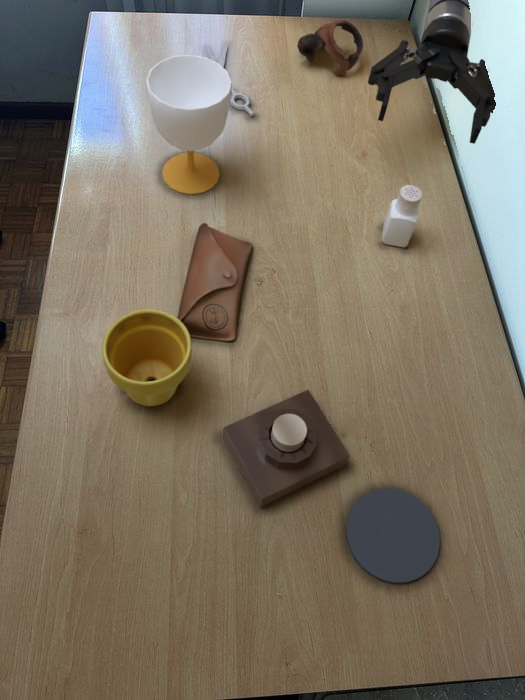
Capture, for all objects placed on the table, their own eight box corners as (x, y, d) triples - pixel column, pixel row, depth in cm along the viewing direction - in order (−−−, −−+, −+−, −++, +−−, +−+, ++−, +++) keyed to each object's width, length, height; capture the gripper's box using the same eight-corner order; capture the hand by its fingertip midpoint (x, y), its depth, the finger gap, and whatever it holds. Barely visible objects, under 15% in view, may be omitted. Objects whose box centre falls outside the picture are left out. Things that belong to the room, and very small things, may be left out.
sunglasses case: (238, 342, 89) (214, 314, 84) (194, 349, 92) (168, 323, 87) (254, 240, 98) (233, 210, 94) (213, 250, 101) (191, 222, 97)
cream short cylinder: (294, 415, 80) (296, 408, 78) (310, 443, 78) (313, 436, 76) (264, 429, 78) (266, 421, 77) (281, 457, 77) (283, 451, 75)
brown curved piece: (333, 40, 127) (359, 14, 120) (346, 87, 127) (373, 64, 120) (281, 37, 121) (305, 10, 114) (294, 86, 121) (319, 62, 114)
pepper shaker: (406, 249, 101) (424, 205, 92) (380, 244, 101) (396, 200, 93) (408, 230, 103) (425, 185, 95) (382, 225, 103) (398, 180, 95)
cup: (212, 210, 102) (214, 119, 87) (141, 187, 103) (131, 95, 88) (238, 160, 108) (244, 67, 93) (171, 139, 109) (166, 45, 94)
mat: (439, 498, 80) (440, 496, 80) (437, 591, 75) (439, 590, 74) (349, 482, 81) (350, 480, 80) (341, 574, 75) (342, 573, 74)
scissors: (190, 113, 111) (187, 38, 121) (191, 116, 112) (187, 42, 122) (253, 113, 113) (245, 40, 123) (253, 117, 113) (245, 43, 123)
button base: (305, 399, 86) (310, 381, 82) (345, 465, 82) (353, 449, 77) (222, 437, 82) (223, 420, 78) (259, 508, 78) (263, 494, 74)
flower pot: (196, 415, 84) (196, 378, 75) (113, 425, 82) (103, 388, 74) (188, 346, 89) (186, 304, 80) (109, 354, 87) (99, 311, 79)
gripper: (513, 77, 108) (504, 165, 97) (364, 42, 110) (339, 124, 99) (533, 35, 102) (525, 124, 91) (374, -2, 104) (349, 81, 93)
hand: (428, 124), depth 95 cm, fingers open, 13 cm apart
